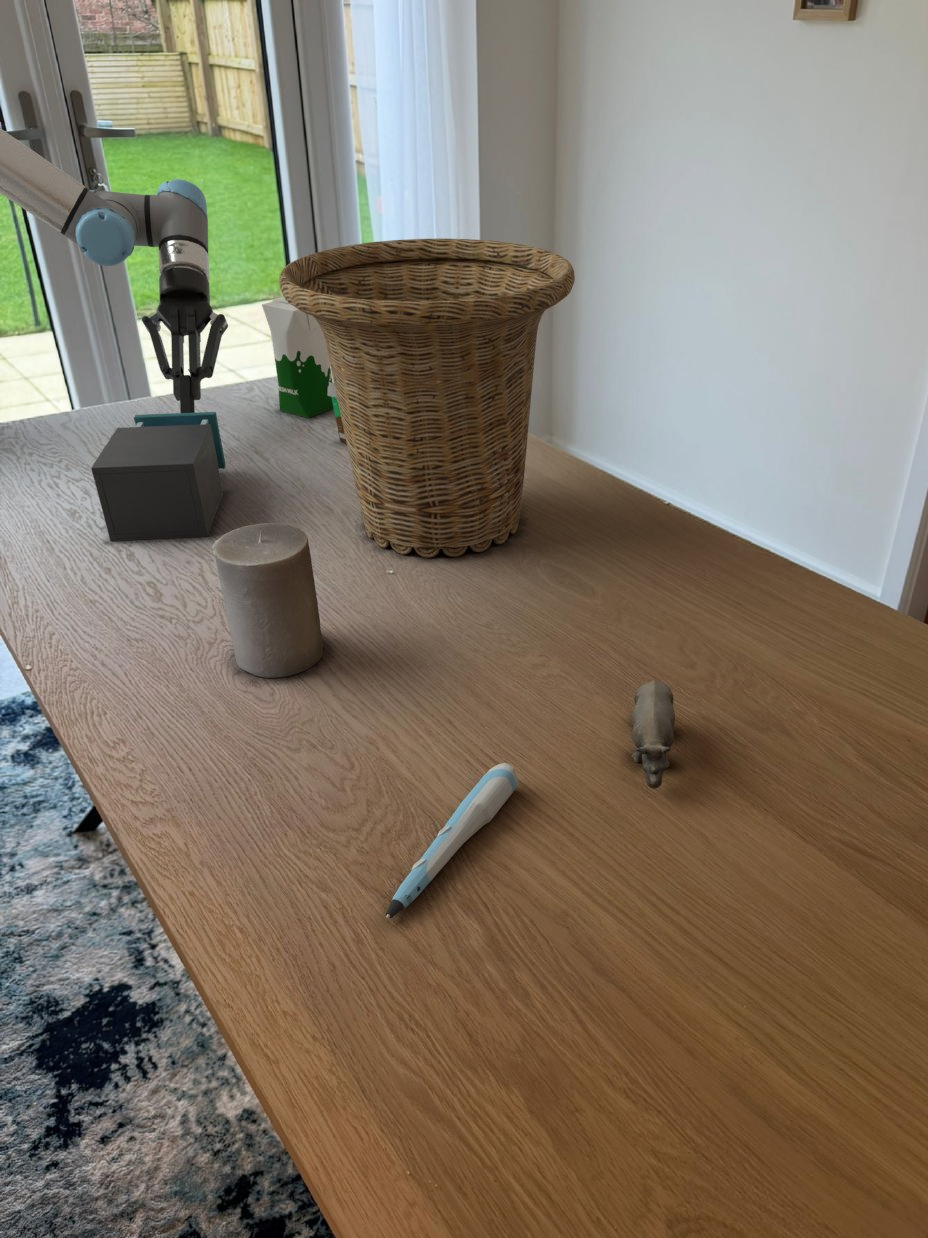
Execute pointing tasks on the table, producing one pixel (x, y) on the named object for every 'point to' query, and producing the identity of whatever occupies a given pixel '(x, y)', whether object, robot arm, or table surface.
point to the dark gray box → (159, 482)
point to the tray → (186, 419)
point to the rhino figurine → (653, 729)
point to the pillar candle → (270, 599)
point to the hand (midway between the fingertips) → (187, 418)
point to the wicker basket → (433, 378)
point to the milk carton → (299, 359)
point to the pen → (457, 832)
